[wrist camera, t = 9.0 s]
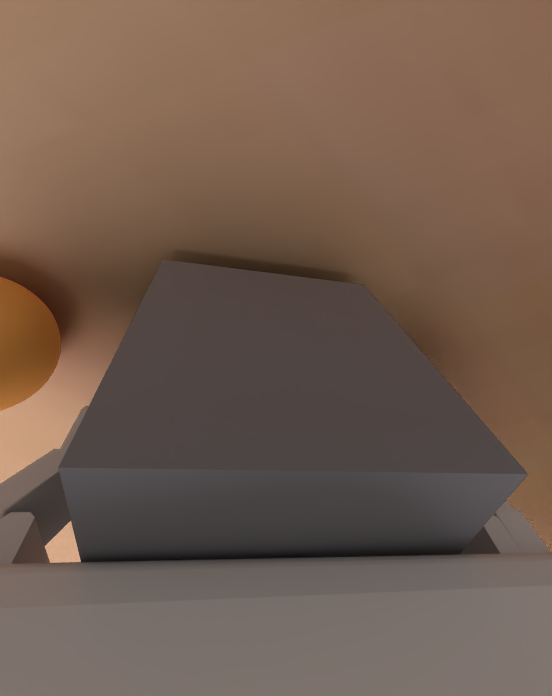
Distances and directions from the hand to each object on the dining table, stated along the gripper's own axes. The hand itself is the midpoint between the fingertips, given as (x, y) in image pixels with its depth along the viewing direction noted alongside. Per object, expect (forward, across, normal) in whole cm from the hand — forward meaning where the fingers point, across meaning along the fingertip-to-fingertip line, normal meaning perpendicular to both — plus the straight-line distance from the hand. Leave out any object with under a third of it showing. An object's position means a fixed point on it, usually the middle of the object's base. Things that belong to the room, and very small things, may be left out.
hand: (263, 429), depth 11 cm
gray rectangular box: (+4, 0, 0) cm, 4 cm away
